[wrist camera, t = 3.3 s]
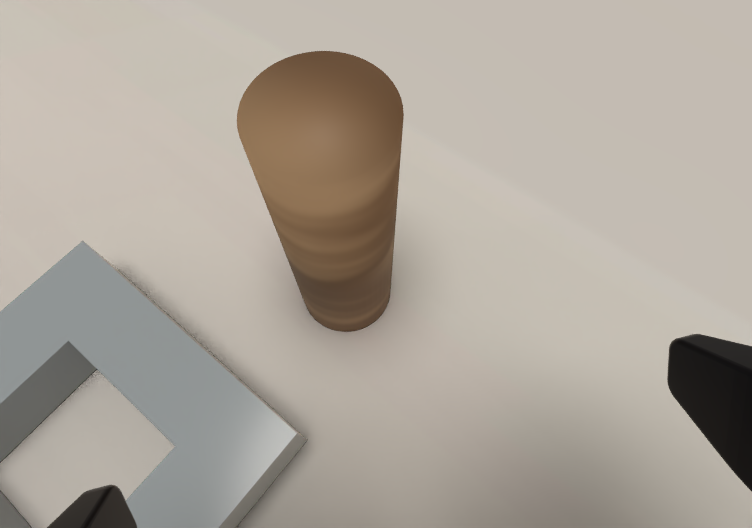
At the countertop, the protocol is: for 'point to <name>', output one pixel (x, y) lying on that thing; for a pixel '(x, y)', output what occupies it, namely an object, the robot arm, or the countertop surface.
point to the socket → (139, 393)
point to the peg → (329, 177)
